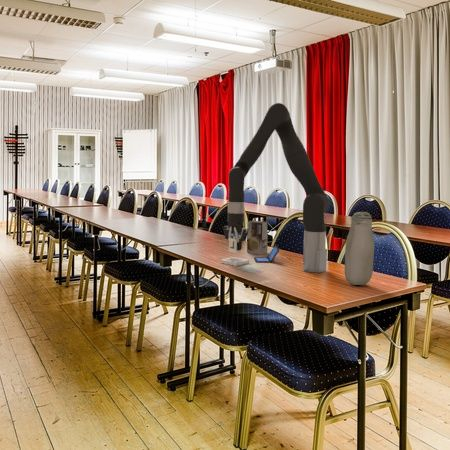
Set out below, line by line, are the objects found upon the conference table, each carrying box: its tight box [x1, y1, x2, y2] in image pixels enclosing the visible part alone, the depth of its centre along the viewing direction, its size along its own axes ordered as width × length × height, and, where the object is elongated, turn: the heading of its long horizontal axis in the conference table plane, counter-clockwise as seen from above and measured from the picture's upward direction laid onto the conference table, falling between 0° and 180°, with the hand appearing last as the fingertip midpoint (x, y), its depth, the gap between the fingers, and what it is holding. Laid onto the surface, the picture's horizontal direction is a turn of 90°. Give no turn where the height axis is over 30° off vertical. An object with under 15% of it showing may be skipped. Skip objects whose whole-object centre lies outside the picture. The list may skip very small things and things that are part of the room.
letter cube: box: [228, 236, 242, 253], centre depth 219 cm, size 4×4×6 cm
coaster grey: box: [245, 268, 265, 274], centre depth 204 cm, size 6×6×1 cm
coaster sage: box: [246, 264, 265, 269], centre depth 214 cm, size 6×6×1 cm
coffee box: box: [246, 220, 269, 255], centre depth 250 cm, size 9×6×16 cm
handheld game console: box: [253, 244, 280, 264], centre depth 228 cm, size 12×11×7 cm
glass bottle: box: [344, 211, 375, 286], centre depth 184 cm, size 10×10×28 cm
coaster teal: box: [235, 265, 254, 271], centre depth 210 cm, size 6×6×1 cm
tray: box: [220, 256, 250, 267], centre depth 220 cm, size 9×9×2 cm
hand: (235, 249), depth 220 cm, fingers closed on letter cube, 4 cm apart
